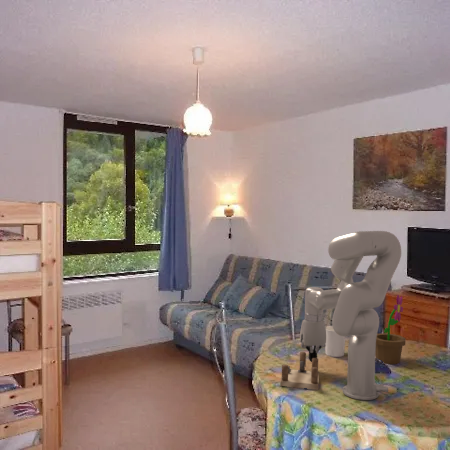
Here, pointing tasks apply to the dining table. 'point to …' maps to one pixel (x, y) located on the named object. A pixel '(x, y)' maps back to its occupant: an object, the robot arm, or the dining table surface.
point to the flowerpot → (390, 339)
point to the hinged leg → (302, 361)
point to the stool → (301, 377)
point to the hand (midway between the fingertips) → (312, 361)
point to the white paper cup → (334, 343)
